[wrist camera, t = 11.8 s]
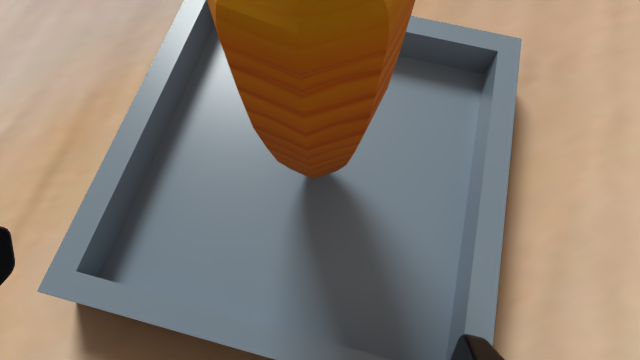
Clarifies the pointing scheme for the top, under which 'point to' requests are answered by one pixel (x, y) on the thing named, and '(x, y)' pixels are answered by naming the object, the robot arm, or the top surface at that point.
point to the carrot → (311, 71)
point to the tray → (304, 208)
